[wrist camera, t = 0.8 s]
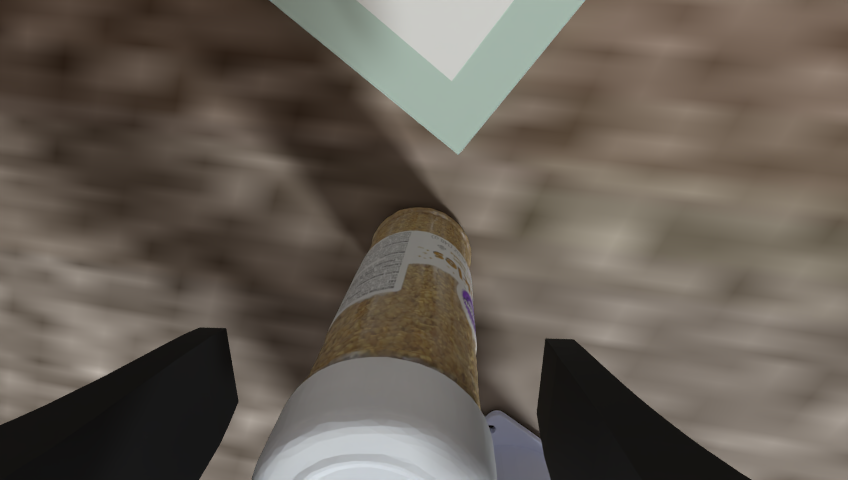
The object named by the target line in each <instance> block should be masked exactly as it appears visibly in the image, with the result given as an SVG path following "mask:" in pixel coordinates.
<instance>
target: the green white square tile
mask: <svg viewBox="0 0 848 480" xmlns="http://www.w3.org/2000/svg"><path fill="white" fill-rule="evenodd" d="M269 1H271V2H272V3H273V4H274V5H276V6H277V7H278V8H279V9H280V10H282V11H283V12H284V13H285V14H287V15H288V16H289V17H290V18H291V19H293V20H294V21H295V22H296V23H298V24H299V25H300V26H301V27H302V28H304V29H305V30H306V31H307V32H309V33H310V34H311V35H312V36H313V37H315V38H316V39H317V40H318V41H320V42H321V43H322V44H323V45H324V46H326V47H327V48H328V49H329V50H331V51H332V52H333V53H334V54H335V55H337V56H338V57H339V58H340V59H342V60H343V61H344V62H345V63H346V64H348V65H349V66H350V67H351V68H353V69H354V70H355V71H356V72H358V73H359V74H360V75H361V76H362V77H364V78H365V79H366V80H367V81H369V82H370V83H371V84H372V85H373V86H375V87H376V88H377V89H378V90H380V91H381V92H382V93H383V94H384V95H386V96H387V97H388V98H389V99H391V100H392V101H393V102H394V103H395V104H397V105H398V106H399V107H400V108H402V109H403V110H404V111H405V112H406V113H408V114H409V115H410V116H411V117H413V118H414V119H415V120H416V121H417V122H419V123H420V124H421V125H422V126H424V127H425V128H426V129H427V130H428V131H430V132H431V133H432V134H433V135H435V136H436V137H437V138H438V139H439V140H441V141H442V142H443V143H444V144H446V145H447V146H448V147H449V148H451V149H452V150H453V151H454V152H455V153H457V154H458V155H459V154H460V152H461V151H462V150H463V149H464V148H465V146H466V145H467V144H468V143H469V141H470V140H471V139H472V138H473V137H474V135H475V134H476V133H477V132H478V130H479V129H480V128H481V127H482V126H483V124H484V123H485V122H486V121H487V120H488V118H489V117H490V116H491V115H492V113H493V112H494V111H495V110H496V109H497V107H498V106H499V105H500V104H501V102H502V101H503V100H504V99H505V98H506V96H507V95H508V94H509V93H510V91H511V90H512V89H513V88H514V87H515V85H516V84H517V83H518V82H519V80H520V79H521V78H522V77H523V76H524V74H525V73H526V72H527V71H528V69H529V68H530V67H531V66H532V65H533V63H534V62H535V61H536V60H537V58H538V57H539V56H540V55H541V54H542V52H543V51H544V50H545V49H546V47H547V46H548V45H549V44H550V43H551V41H552V40H553V39H554V38H555V36H556V35H557V34H558V33H559V32H560V30H561V29H562V28H563V27H564V25H565V24H566V23H567V22H568V21H569V19H570V18H571V17H572V16H573V15H574V13H575V12H576V11H577V10H578V8H579V7H580V6H581V5H582V4H583V2H584V1H585V0H269Z"/></svg>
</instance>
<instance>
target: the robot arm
mask: <svg viewBox="0 0 848 480" xmlns="http://www.w3.org/2000/svg"><path fill="white" fill-rule="evenodd" d="M237 404H238V396H237V390H236V384H235V378H234V372H233V366H232V360H231V354H230V348H229V342H228V337H227V331H226V328H198V329H195V330H193V331H191V332H188V333H186V334H184V335H182V336H180V337H178V338H176V339H174V340H172V341H170V342H168V343H166V344H164V345H163V346H161V347H159V348H157V349H155V350H153V351H151V352H149V353H147V354H146V355H144V356H142V357H140V358H138V359H136V360H134V361H132V362H130V363H129V364H127V365H125V366H123V367H121V368H119V369H117V370H115V371H113V372H111V373H110V374H108V375H106V376H104V377H102V378H100V379H98V380H96V381H94V382H92V383H90V384H88V385H86V386H84V387H82V388H80V389H78V390H75V391H73V392H71V393H69V394H67V395H65V396H63V397H61V398H59V399H57V400H55V401H53V402H51V403H49V404H47V405H45V406H43V407H40V408H38V409H36V410H34V411H32V412H29V413H27V414H25V415H23V416H20V417H18V418H16V419H14V420H11V421H9V422H7V423H4V424H2V425H0V480H199V479H200V477H201V475H202V474H203V472H204V470H205V469H206V467H207V465H208V464H209V462H210V460H211V459H212V457H213V455H214V453H215V452H216V450H217V448H218V447H219V445H220V443H221V441H222V439H223V436H224V434H225V432H226V430H227V428H228V426H229V423H230V421H231V418H232V416H233V414H234V411H235V409H236V406H237ZM485 418H486V421H487V423H488V426H489V425H493V426H494V427H492V428H489V429H490V431H491V436H492V440H493V446H494V454H495V462H496V472H497V480H751V479H749V478H748V477H746V476H745V475H743V474H742V473H740V472H738V471H737V470H735V469H734V468H733V467H731V466H730V465H728V464H727V463H725V462H724V461H722V460H721V459H719V458H718V457H716V456H715V455H713V454H712V453H710V452H709V451H707V450H706V449H705V448H703V447H702V446H700V445H699V444H697V443H696V442H695V441H693V440H692V439H691V438H689V437H688V436H686V435H685V434H684V433H683V432H681V431H680V430H679V429H677V428H676V427H675V426H674V425H672V424H671V423H670V422H668V421H667V420H666V419H665V418H663V417H662V416H661V415H659V414H658V413H657V412H656V411H654V410H653V409H652V408H651V407H649V406H648V405H647V404H646V403H645V402H643V401H642V400H641V399H640V398H639V397H637V396H636V395H635V394H634V393H633V392H632V391H630V390H629V389H628V388H627V387H626V386H625V385H624V384H622V383H621V382H620V381H619V380H618V379H617V378H616V377H615V376H613V375H612V374H611V373H610V372H609V371H608V370H607V369H606V368H605V367H604V366H602V365H601V364H600V363H599V362H598V361H597V360H596V359H595V358H594V357H593V356H592V355H590V354H589V353H588V352H587V351H586V350H585V349H584V348H583V347H582V346H581V345H579V344H578V343H577V342H576V341H575V340H573V339H545V347H544V355H543V364H542V373H541V381H540V390H539V398H538V407H537V418H538V424H539V430H540V436H541V439H540V438H539V437H537V436H536V435H535V434H533V433H532V432H530V431H529V430H528V429H526V428H525V427H523V426H522V425H521V424H519V423H518V422H516V421H515V420H513V419H512V418H511V417H509V416H508V415H506V414H505V413H504V412H502V411H498V410H495V411H492V412H490V413H489V414H488V415H487V416H486V417H485Z"/></svg>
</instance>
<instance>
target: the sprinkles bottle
mask: <svg viewBox="0 0 848 480" xmlns="http://www.w3.org/2000/svg"><path fill="white" fill-rule="evenodd" d="M470 264H471V248H470V245H469V241H468V238H467V236H466V234H465V233H464V231H463V229H462V228H461V227H460V225H459V224H458V223H457V222H455V221H454V220H453V219H452V218H451V217H449V216H448V215H446V214H445V213H443V212H440V211H438V210H435V209H432V208H422V207H415V208H408V209H403V210H399V211H397V212H396V213H394V214H393V215H391V216H389V217H388V218H387V219H385V220H384V221H383V222H382V223H381V224H380V225H379V227H378V229H377V230H376V232H375V234H374V236H373V239H372V244H371V247H370V250H369V252H368V253H367V254H366V256H365V257H364V259H363V261H362V263H361V265H360V267H359V269H358V271H357V273H356V275H355V277H354V279H353V281H352V283H351V285H350V287H349V289H348V291H347V293H346V295H345V297H344V299H343V301H342V303H341V305H340V307H339V310H338V312H337V314H336V316H335V318H334V320H333V322H332V324H331V326H330V328H329V330H328V332H327V335H326V338H325V342H324V345H323V347H322V349H321V351H320V353H319V355H318V358H317V360H316V362H315V363H314V366H313V368H312V369H311V371H310V375H309V376H308V377H307V379H306V380H305V381H304V382H303V383H302V384H301V385H300V386H299V387H298V388H297V389H296V390H295V391H294V393H293V394H292V395H291V397H290V398H289V400H288V401H287V403H286V405H285V407H284V408H283V410H282V412H281V414H280V416H279V418H278V420H277V422H276V424H275V426H274V428H273V430H272V432H271V434H270V436H269V439H268V441H267V443H266V445H265V447H264V449H263V451H262V453H261V455H260V457H259V459H258V461H257V464H256V467H255V470H254V473H253V476H252V480H497V472H496V462H495V454H494V446H493V440H492V436H491V431H490V429H489V426H488V423H487V421H486V418H485V416H484V415H483V413H482V412H481V409H480V400H479V387H478V372H477V359H476V351H477V341H476V330H475V319H474V308H473V290H472V279H471V273H470Z"/></svg>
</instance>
